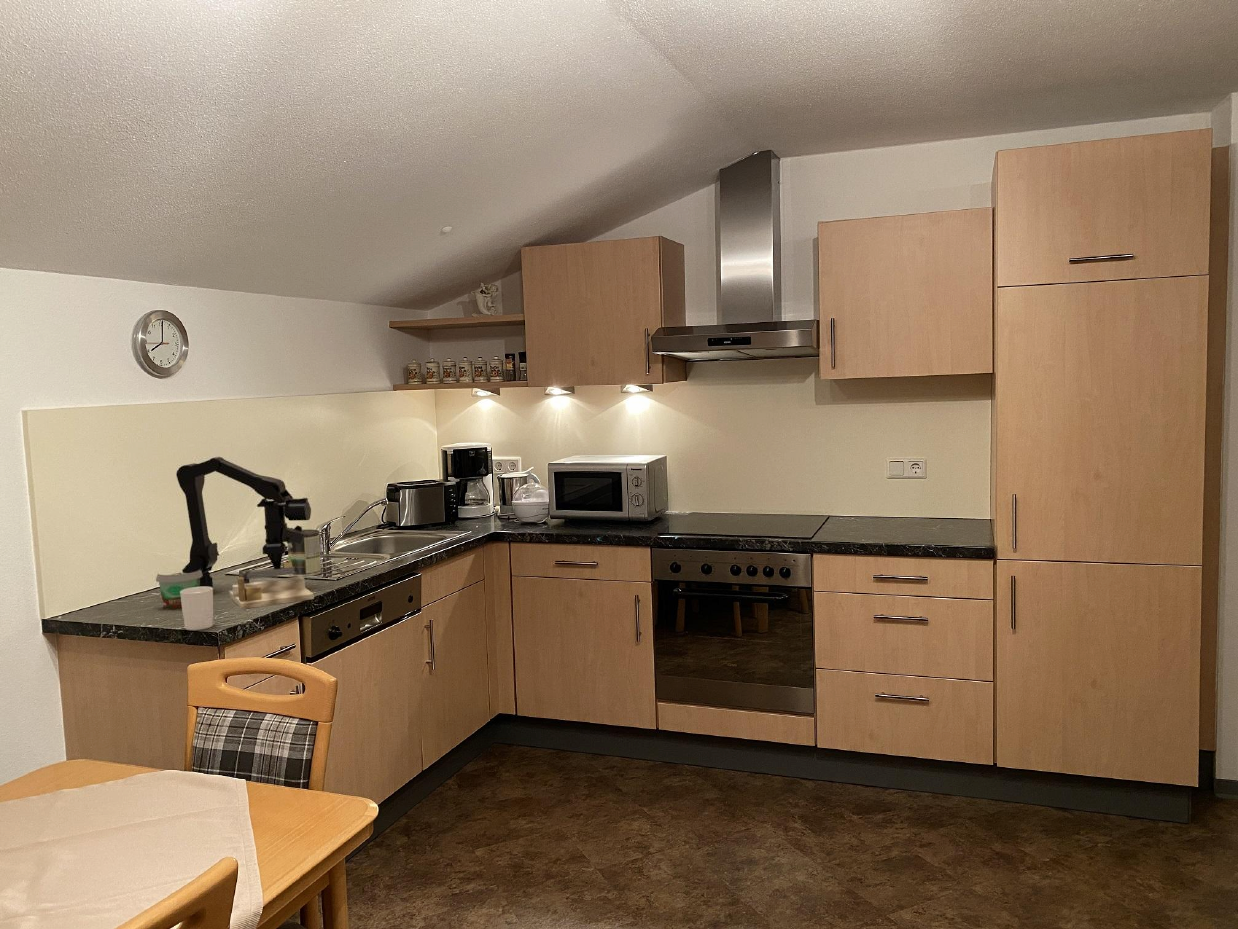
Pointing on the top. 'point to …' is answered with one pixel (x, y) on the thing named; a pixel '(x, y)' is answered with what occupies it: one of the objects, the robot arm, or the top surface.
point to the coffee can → (305, 555)
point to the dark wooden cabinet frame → (268, 572)
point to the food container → (176, 587)
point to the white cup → (197, 607)
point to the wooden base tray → (269, 592)
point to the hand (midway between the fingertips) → (278, 571)
